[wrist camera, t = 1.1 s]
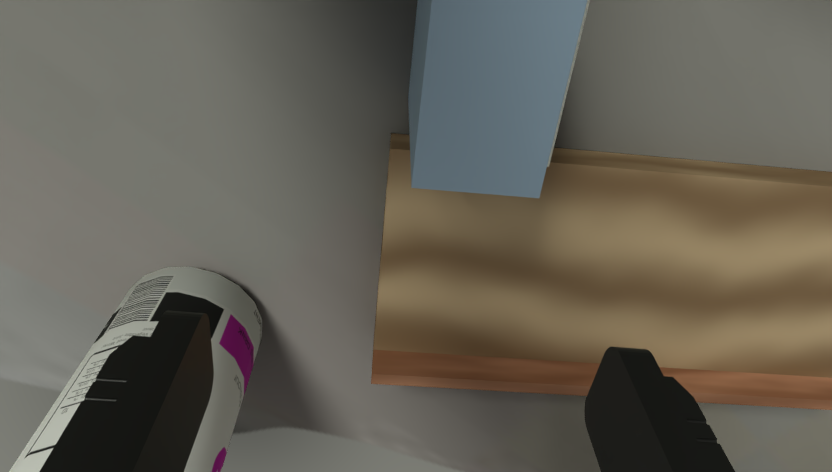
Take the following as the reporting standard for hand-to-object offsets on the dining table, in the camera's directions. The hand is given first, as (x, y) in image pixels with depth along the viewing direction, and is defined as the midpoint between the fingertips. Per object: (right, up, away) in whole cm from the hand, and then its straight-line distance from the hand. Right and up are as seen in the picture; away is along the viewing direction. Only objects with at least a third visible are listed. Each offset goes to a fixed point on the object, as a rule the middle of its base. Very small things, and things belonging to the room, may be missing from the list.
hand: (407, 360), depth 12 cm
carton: (+2, +13, +15) cm, 20 cm away
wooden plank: (+13, +1, +23) cm, 26 cm away
